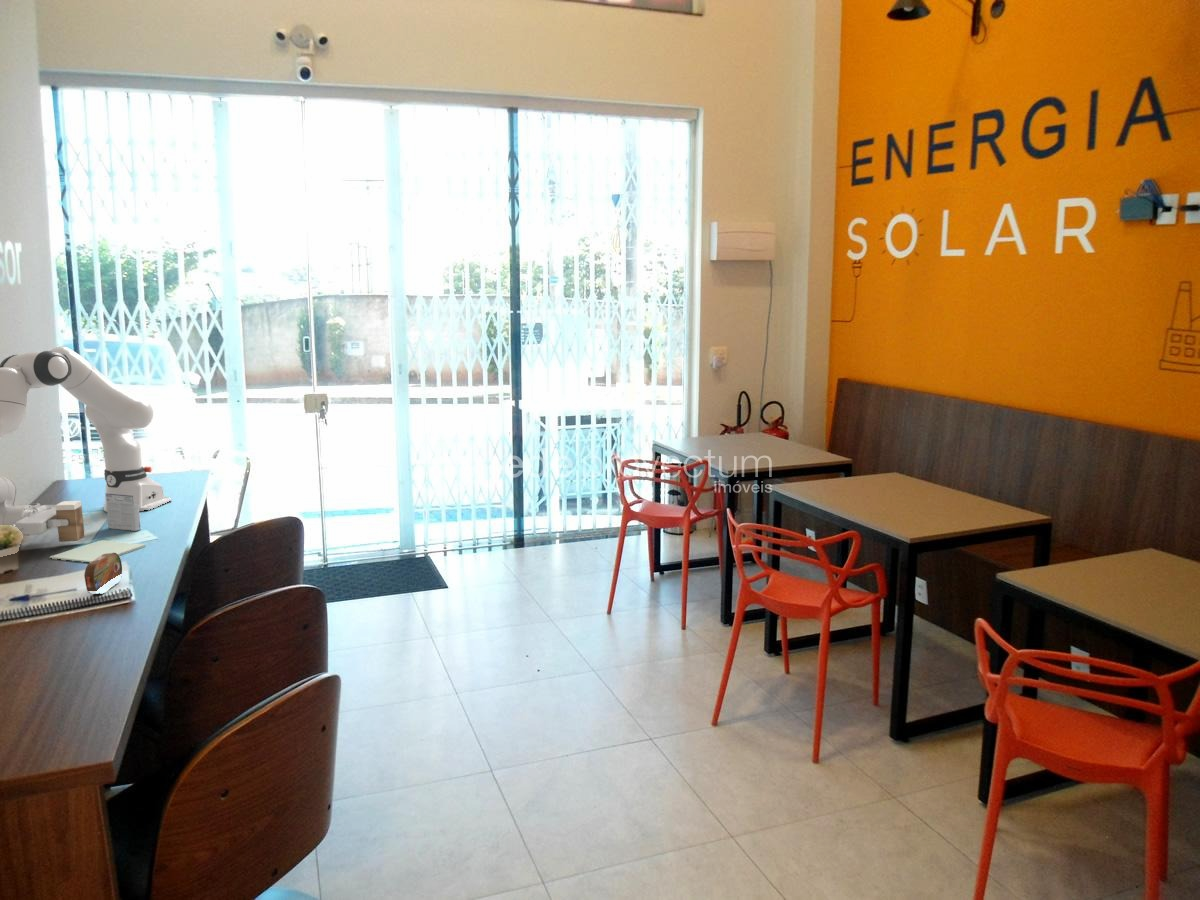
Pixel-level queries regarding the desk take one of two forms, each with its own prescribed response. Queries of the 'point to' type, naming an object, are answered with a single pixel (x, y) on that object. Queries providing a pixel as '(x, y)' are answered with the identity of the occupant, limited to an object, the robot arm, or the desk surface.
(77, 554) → the sage mat
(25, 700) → the desk surface
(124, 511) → the ink box
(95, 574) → the tin
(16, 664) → the desk surface
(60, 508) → the walnut block
